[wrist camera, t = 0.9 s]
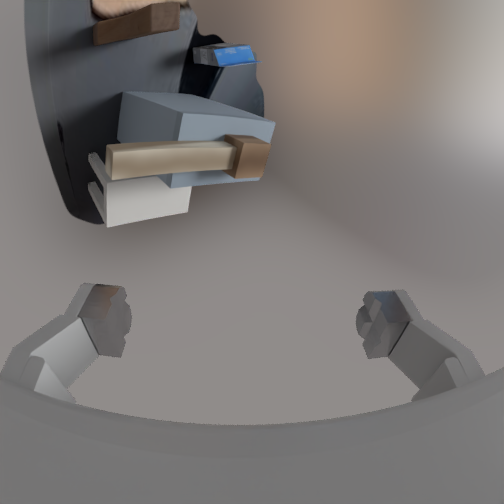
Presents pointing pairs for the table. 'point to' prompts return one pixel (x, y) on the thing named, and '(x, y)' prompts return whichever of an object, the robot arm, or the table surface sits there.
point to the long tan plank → (188, 157)
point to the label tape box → (224, 54)
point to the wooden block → (138, 23)
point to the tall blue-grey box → (186, 128)
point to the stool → (134, 197)
